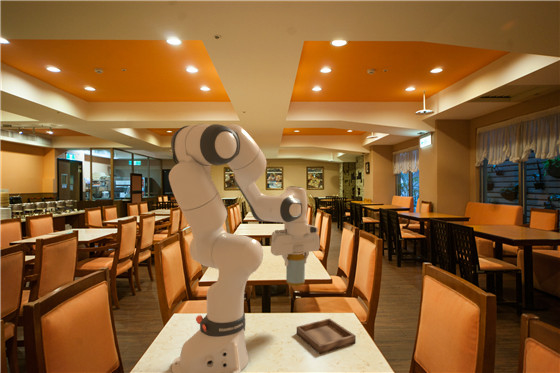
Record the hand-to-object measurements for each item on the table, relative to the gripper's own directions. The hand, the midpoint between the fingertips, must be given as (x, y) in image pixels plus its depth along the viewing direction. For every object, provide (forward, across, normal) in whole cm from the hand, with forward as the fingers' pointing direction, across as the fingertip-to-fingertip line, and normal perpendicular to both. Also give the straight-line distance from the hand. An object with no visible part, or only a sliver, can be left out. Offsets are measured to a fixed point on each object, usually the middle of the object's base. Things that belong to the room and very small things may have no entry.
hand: (295, 264), depth 116 cm
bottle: (+8, 0, 0) cm, 8 cm away
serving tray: (+23, +4, -14) cm, 27 cm away
